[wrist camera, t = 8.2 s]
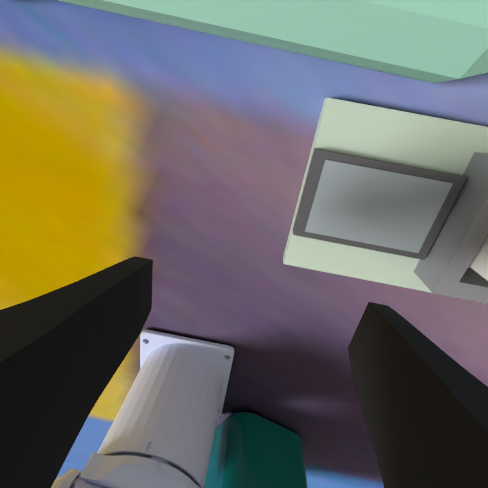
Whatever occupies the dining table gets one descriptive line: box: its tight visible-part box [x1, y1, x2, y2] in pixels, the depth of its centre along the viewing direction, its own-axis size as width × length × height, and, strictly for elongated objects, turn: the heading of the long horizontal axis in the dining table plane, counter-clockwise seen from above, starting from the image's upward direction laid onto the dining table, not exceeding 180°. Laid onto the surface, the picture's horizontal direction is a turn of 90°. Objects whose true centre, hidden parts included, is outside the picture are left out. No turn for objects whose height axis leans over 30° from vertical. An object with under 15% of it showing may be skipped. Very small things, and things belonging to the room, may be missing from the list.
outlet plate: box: [283, 98, 488, 304], centre depth 16 cm, size 10×18×3 cm, turn 80°
